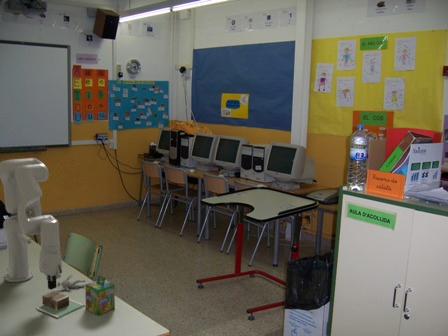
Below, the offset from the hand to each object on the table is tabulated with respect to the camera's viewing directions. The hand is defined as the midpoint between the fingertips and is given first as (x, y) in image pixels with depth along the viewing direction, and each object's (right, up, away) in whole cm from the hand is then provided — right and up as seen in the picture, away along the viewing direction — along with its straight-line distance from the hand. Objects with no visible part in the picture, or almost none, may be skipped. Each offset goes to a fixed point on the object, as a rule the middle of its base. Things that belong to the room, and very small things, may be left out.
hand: (52, 288), depth 206 cm
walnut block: (-3, -5, +3) cm, 6 cm away
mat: (+4, -8, -1) cm, 9 cm away
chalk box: (+22, -9, -2) cm, 23 cm away
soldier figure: (+3, -5, +19) cm, 20 cm away
